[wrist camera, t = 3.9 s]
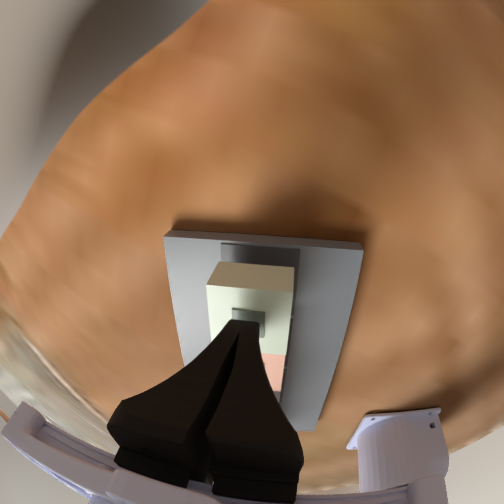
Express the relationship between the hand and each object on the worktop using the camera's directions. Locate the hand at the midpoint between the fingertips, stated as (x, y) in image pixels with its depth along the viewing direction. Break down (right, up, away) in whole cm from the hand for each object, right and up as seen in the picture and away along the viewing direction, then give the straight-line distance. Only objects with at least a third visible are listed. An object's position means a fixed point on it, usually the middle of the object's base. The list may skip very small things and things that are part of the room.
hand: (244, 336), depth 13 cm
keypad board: (+1, -4, +9) cm, 10 cm away
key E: (+1, +1, +3) cm, 3 cm away
